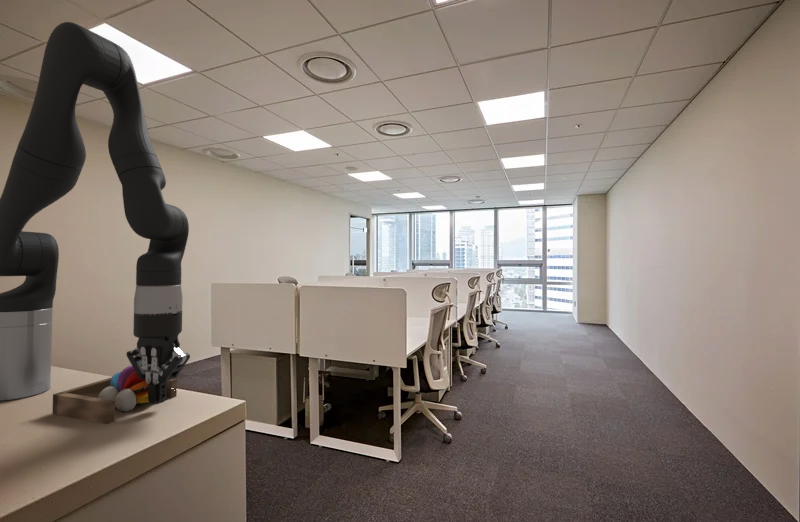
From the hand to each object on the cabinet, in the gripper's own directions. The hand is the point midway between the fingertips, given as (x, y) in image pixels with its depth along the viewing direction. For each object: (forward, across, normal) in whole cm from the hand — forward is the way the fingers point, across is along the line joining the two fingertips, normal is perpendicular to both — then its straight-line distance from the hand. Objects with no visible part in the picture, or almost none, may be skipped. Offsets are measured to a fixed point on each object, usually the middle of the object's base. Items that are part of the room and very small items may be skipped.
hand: (157, 402), depth 67 cm
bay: (+1, -9, 0) cm, 9 cm away
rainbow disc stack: (+2, -7, +1) cm, 7 cm away
